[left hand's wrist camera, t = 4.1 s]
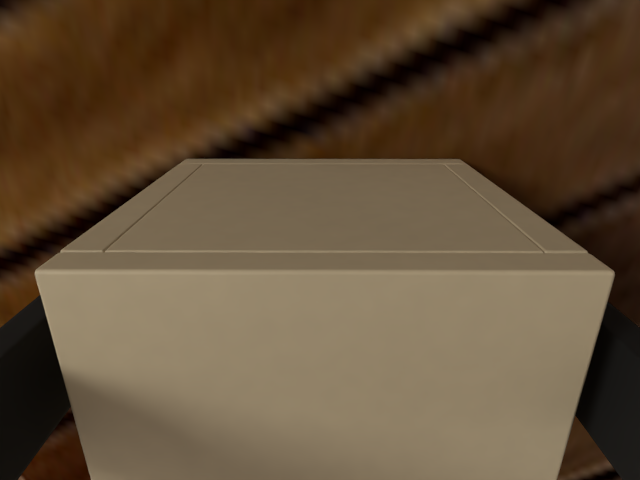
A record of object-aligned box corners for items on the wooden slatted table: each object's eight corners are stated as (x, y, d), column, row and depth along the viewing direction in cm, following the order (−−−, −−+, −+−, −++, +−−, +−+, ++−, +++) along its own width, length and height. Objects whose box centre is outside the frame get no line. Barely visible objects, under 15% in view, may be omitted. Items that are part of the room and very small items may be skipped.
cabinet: (423, 462, 24) (489, 722, 15) (220, 461, 24) (155, 720, 15) (460, 158, 18) (618, 271, 8) (185, 158, 18) (31, 270, 8)
